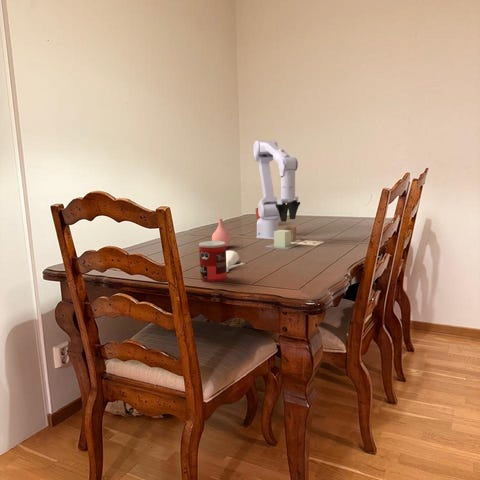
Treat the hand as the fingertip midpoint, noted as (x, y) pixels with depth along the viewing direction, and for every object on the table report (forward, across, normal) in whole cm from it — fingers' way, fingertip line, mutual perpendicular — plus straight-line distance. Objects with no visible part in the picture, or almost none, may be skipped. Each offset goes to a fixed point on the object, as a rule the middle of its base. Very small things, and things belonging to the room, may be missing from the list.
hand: (288, 220), depth 180 cm
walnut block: (+10, +7, +3) cm, 12 cm away
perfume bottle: (+10, -18, +21) cm, 30 cm away
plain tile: (+10, +7, +3) cm, 13 cm away
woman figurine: (+11, -43, 0) cm, 44 cm away
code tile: (+10, +7, -7) cm, 14 cm away
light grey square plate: (+10, -5, 0) cm, 12 cm away
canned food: (+10, -58, -6) cm, 59 cm away
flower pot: (+11, +41, +36) cm, 56 cm away
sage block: (+10, -5, 0) cm, 11 cm away
